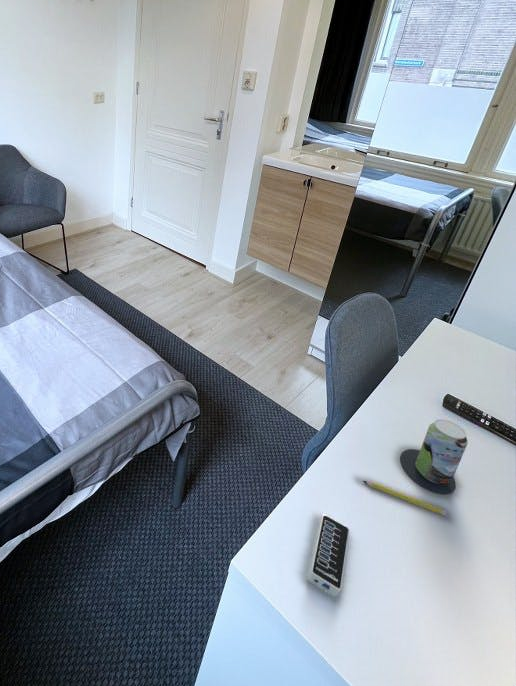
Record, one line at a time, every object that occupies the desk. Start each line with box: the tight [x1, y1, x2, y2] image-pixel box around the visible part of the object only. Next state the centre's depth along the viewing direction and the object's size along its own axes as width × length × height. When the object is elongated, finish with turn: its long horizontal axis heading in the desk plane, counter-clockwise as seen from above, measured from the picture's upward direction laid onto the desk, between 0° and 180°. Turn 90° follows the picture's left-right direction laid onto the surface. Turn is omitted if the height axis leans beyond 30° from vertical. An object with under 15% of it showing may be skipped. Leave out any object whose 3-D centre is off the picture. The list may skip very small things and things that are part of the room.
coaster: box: [399, 448, 457, 495], centre depth 85 cm, size 10×10×1 cm
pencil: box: [362, 480, 448, 517], centre depth 79 cm, size 1×14×1 cm, turn 67°
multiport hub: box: [306, 513, 350, 598], centre depth 69 cm, size 4×11×2 cm, turn 148°
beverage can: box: [415, 418, 468, 484], centre depth 82 cm, size 6×7×12 cm
